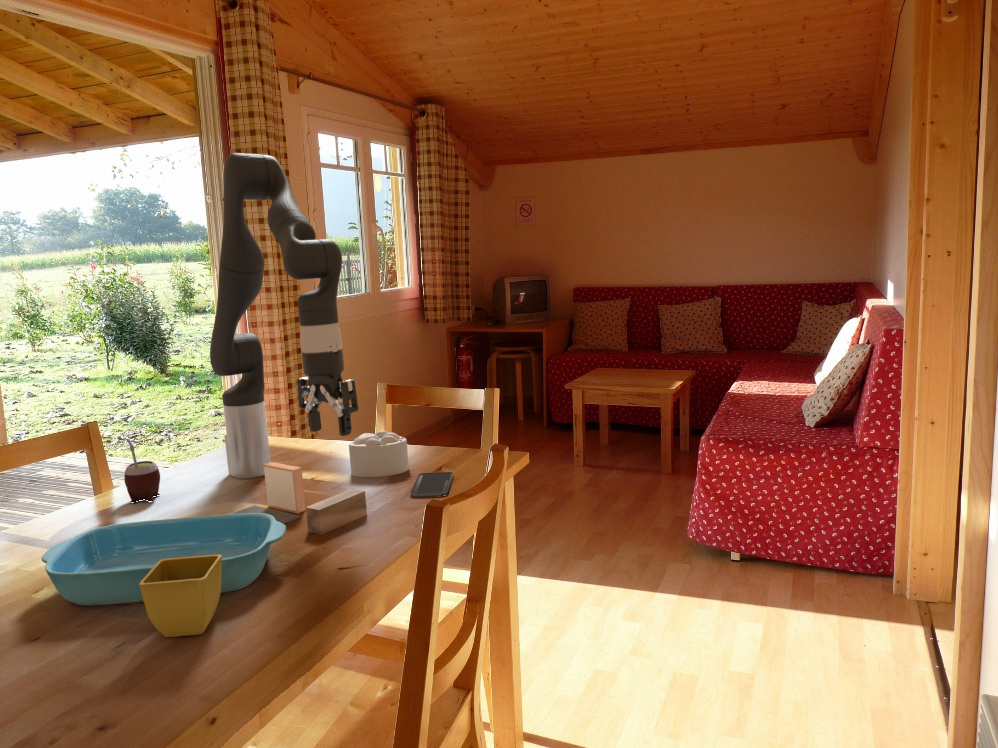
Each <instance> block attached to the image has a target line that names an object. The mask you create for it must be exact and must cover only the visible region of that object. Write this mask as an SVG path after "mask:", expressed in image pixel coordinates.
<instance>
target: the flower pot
mask: <svg viewBox="0 0 998 748" xmlns="http://www.w3.org/2000/svg"><path fill="white" fill-rule="evenodd" d="M221 574H222V556H221V555H207V556H196V557H183V558H171V559H162V560H160V561H159V562H158V563H157V564H156V565H155V566H154V567H153V568H152V569H151V570H150V572H149V573H148V574H147V575H146V576H145V577H144V578H143V579H142V581H141V582H140V584H139V586H140V589H141V593H142V597H143V600H144V601H143V603H144V607H145V609H146V613H147V616H148V618H149V620H150V622H151V623H152V625H153V626H154V627H155V629H156V630H157V631H158V632H159V633H160V634H161V635H162V636H163V637H165V638H172V637H173V638H175V637H184V636H196V635H197V636H198V635H202V634H203V633H205V630H206V629H207V627H208V626H209V624H210V622H211V621H212V619H213V617H214V615H215V612H216V610H217V607H218V605H219V601H220V597H221V594H222V593H221Z"/></svg>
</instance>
